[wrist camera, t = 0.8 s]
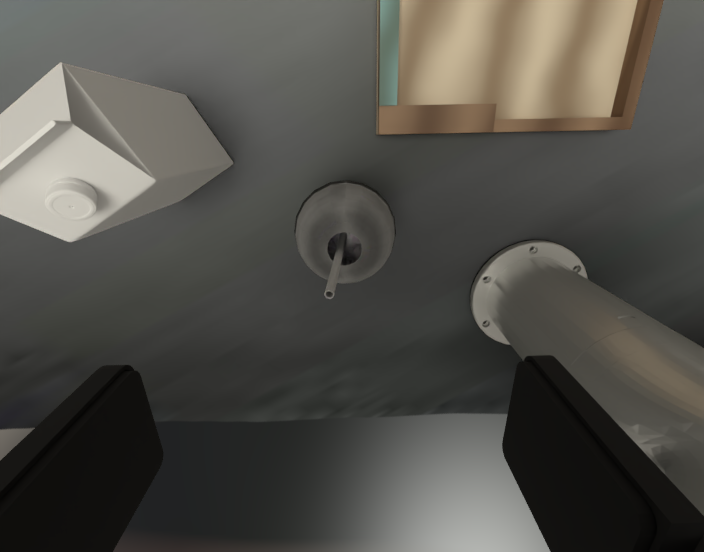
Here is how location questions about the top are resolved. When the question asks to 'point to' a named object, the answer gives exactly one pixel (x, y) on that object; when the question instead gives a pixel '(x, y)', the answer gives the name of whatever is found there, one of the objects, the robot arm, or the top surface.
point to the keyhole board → (511, 64)
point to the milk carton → (100, 152)
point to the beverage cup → (344, 232)
